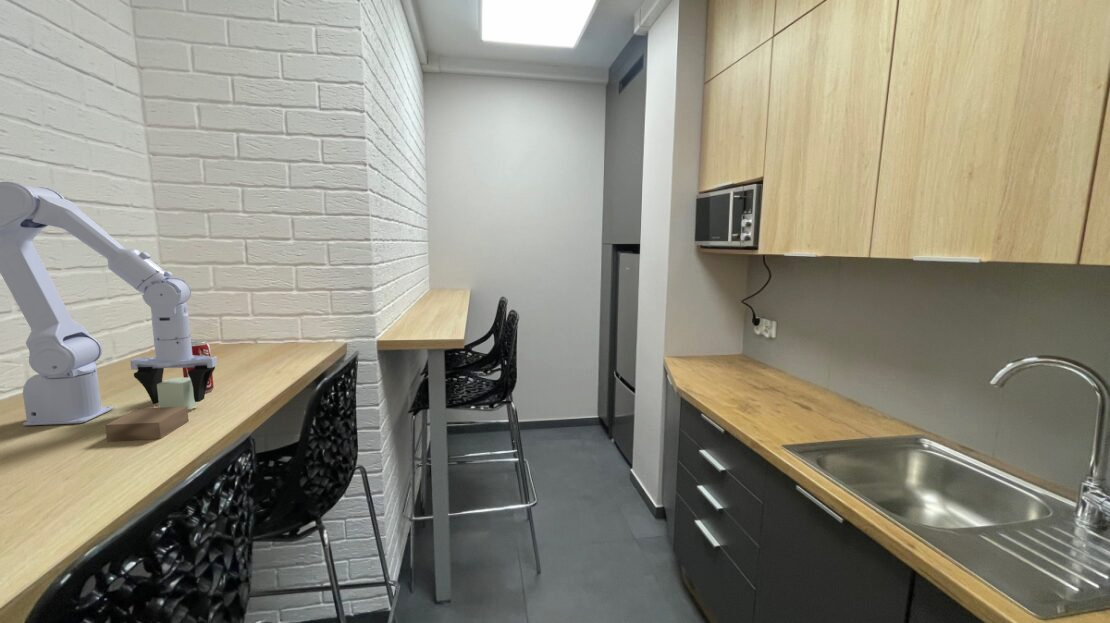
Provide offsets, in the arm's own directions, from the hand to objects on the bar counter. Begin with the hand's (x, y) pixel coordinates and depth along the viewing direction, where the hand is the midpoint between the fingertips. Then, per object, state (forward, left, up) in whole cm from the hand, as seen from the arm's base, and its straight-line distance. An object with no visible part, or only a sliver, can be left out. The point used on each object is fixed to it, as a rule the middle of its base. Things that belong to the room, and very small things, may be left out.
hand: (178, 401), depth 92 cm
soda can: (-2, +11, -2) cm, 11 cm away
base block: (+2, -12, -2) cm, 12 cm away
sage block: (0, 0, -2) cm, 2 cm away
